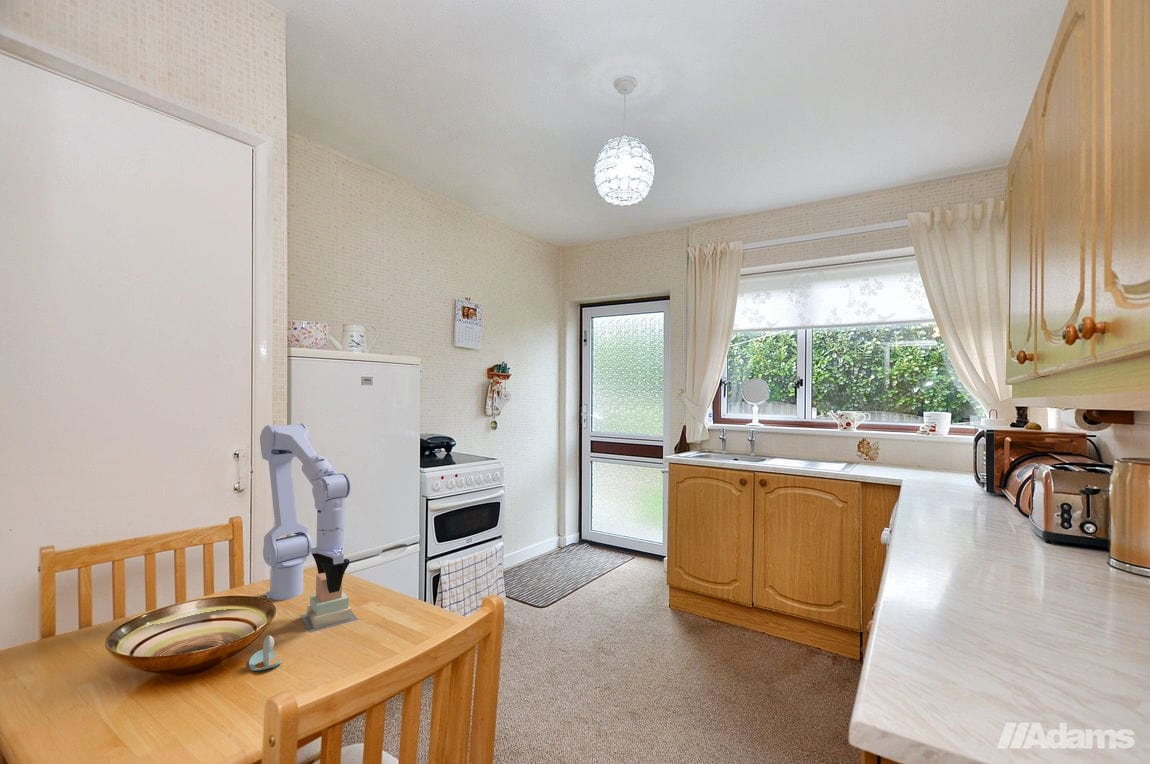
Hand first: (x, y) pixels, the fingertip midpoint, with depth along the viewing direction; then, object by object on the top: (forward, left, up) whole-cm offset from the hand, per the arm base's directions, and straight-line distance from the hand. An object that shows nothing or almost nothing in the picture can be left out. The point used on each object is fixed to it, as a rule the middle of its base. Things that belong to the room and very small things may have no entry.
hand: (329, 586), depth 118 cm
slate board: (0, 0, -8) cm, 8 cm away
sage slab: (0, 0, -5) cm, 5 cm away
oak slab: (0, 0, -7) cm, 7 cm away
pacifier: (+13, -15, -9) cm, 22 cm away
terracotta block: (0, 0, -2) cm, 2 cm away
